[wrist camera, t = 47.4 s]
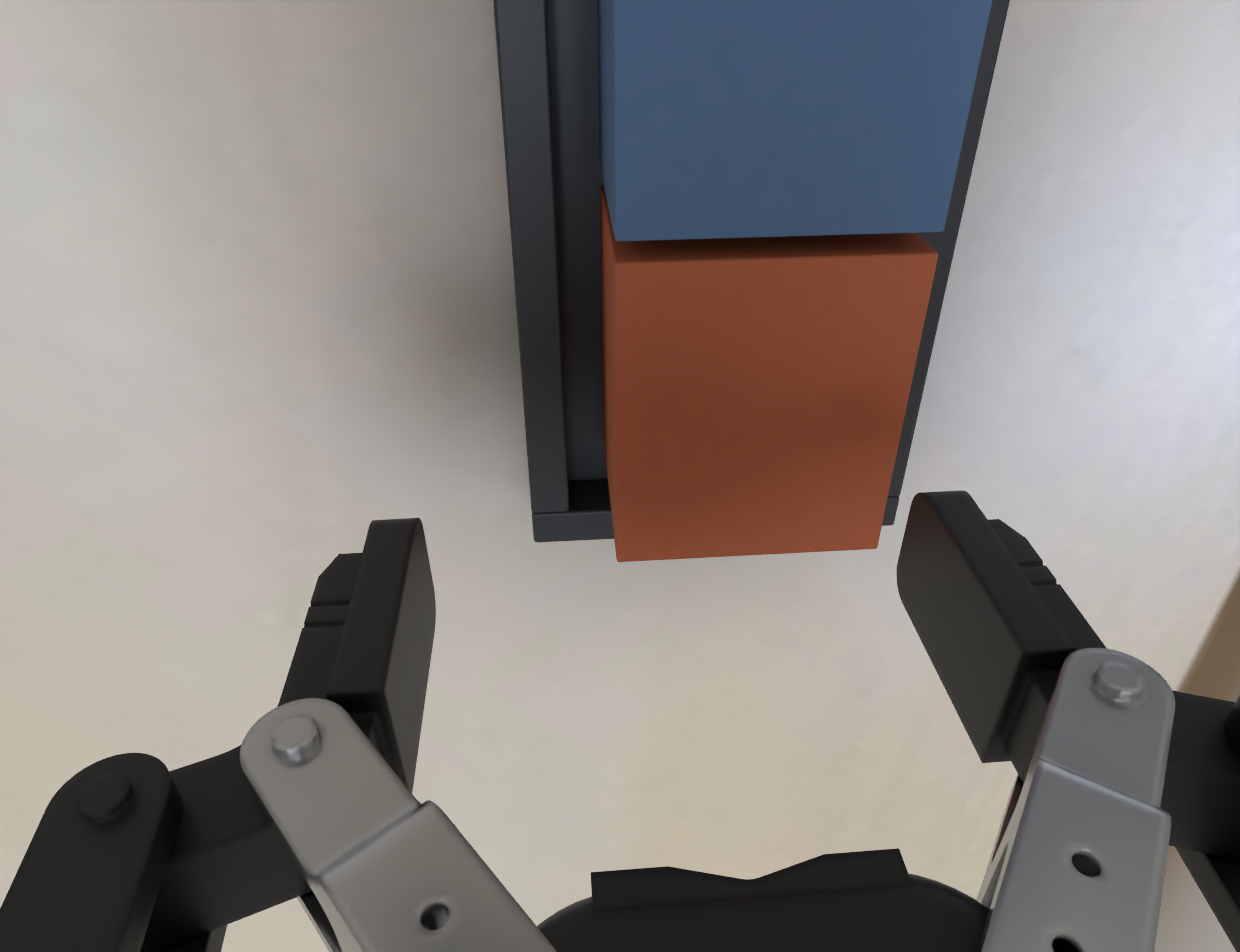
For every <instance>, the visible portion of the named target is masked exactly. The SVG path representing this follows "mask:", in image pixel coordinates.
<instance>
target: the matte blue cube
mask: <svg viewBox="0 0 1240 952" xmlns="http://www.w3.org/2000/svg"><path fill="white" fill-rule="evenodd" d="M991 5H992V0H597V35H598V95H599V155H600V169H601V174H602V179H603V184H604V189H605V193H606V198H607V203H608V208H609V213H610V218H611V222H612V227H613V232H614V237H615V240H616V241H648V240H682V239H716V238H751V237H785V236H820V235H854V234H889V233H923V232H942V231H944V228H945V224H946V219H947V214H948V209H949V205H950V200H951V195H952V190H953V186H954V181H955V176H956V171H957V167H958V162H959V157H960V152H961V148H962V143H963V138H964V133H965V129H966V124H967V119H968V114H969V110H970V105H971V100H972V95H973V91H974V86H975V81H976V76H977V72H978V67H979V62H980V57H981V53H982V48H983V43H984V38H985V34H986V29H987V24H988V19H989V15H990V10H991Z"/></svg>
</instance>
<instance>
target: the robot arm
mask: <svg viewBox="0 0 1240 952" xmlns="http://www.w3.org/2000/svg"><path fill="white" fill-rule="evenodd" d="M897 585H898V591H899V595H900V598H901V600H902V603H903V605H904V607H905V609H906V611H907V613H908V615H909V617H910V619H911V621H912V623H913V625H914V627H915V629H916V631H917V633H918V635H919V637H920V639H921V641H922V643H923V645H924V647H925V649H926V651H927V653H928V655H929V657H930V659H931V661H932V663H933V665H934V667H935V669H936V671H937V673H938V675H939V677H940V679H941V681H942V683H943V685H944V687H945V689H946V691H947V693H948V695H949V697H950V699H951V701H952V703H953V705H954V707H955V709H956V711H957V713H958V715H959V717H960V719H961V721H962V723H963V725H964V727H965V729H966V731H967V733H968V735H969V737H970V739H971V741H972V743H973V745H974V747H975V749H976V751H977V753H978V755H979V757H980V759H981V761H982V763H989V762H1003V761H1012V763H1013V765H1014V767H1015V769H1016V771H1017V773H1018V775H1017V777H1016V780H1015V782H1014V785H1013V787H1012V790H1011V793H1010V797H1009V800H1008V803H1007V806H1006V809H1005V813H1004V816H1003V819H1002V822H1001V825H1000V829H999V832H998V835H997V838H996V841H995V844H994V848H993V851H992V854H991V857H990V860H989V864H988V867H987V870H986V873H985V876H984V879H983V882H982V885H981V888H980V891H979V894H978V897H977V899H976V900H975V899H974V898H972V897H970V896H968V895H966V894H964V893H962V892H960V891H958V890H957V889H955V888H952V887H950V886H947V885H945V884H942V883H940V882H938V881H935V880H931V879H928V878H924V877H921V876H918V875H913V874H908V872H907V869H906V867H905V864H904V861H903V858H902V856H901V853H900V850H899V849H888V850H875V851H862V852H849V853H836V854H824V855H821V856H819V857H816V858H813V859H810V860H807V861H805V862H802V863H799V864H796V865H793V866H791V867H788V868H785V869H782V870H779V871H777V872H774V873H771V874H768V875H765V876H763V877H760V878H756V879H750V880H745V879H738V878H732V877H726V876H720V875H714V874H708V873H703V872H697V871H691V870H685V869H679V868H673V867H656V868H643V869H630V870H617V871H604V872H591V885H592V897H589V898H586V899H584V900H581V901H578V902H576V903H574V904H572V905H570V906H568V907H566V908H564V909H562V910H560V911H558V912H556V913H555V914H553V915H552V916H550V917H549V918H547V919H546V920H544V921H543V922H542V923H540V924H539V925H538V926H536V925H535V924H534V923H533V921H532V920H531V919H530V918H529V916H528V915H527V914H526V913H525V912H524V910H523V909H522V908H521V907H520V905H519V904H518V903H517V902H516V900H515V899H514V898H513V897H512V896H511V894H510V893H509V892H508V891H507V889H506V888H505V887H504V886H503V884H502V883H501V882H500V881H499V879H498V878H497V877H496V876H495V875H494V873H493V872H492V871H491V870H490V868H489V867H488V866H487V865H486V863H485V862H484V861H483V860H482V859H481V857H480V856H479V855H478V854H477V852H476V851H475V850H474V849H473V847H472V846H471V845H470V844H469V843H468V841H467V840H466V839H465V838H464V836H463V835H462V834H461V833H460V831H459V830H458V829H457V828H456V827H455V825H454V824H453V823H452V822H451V820H450V819H449V818H448V817H447V815H446V814H445V813H444V812H443V811H442V810H441V809H440V808H439V807H438V806H437V805H436V804H435V803H434V802H432V801H429V800H428V801H426V802H424V803H423V804H421V803H420V802H419V801H418V800H417V799H416V798H415V797H414V796H413V795H412V790H413V783H414V776H415V768H416V761H417V754H418V747H419V739H420V732H421V725H422V718H423V711H424V703H425V696H426V689H427V682H428V674H429V667H430V660H431V653H432V646H433V638H434V631H435V618H436V608H435V593H434V586H433V581H432V575H431V569H430V564H429V558H428V553H427V547H426V541H425V536H424V530H423V525H422V522H421V520H420V518H409V519H390V520H373V521H372V522H371V524H370V526H369V530H368V534H367V538H366V541H365V545H364V549H363V553H351V554H339V555H338V556H337V557H336V558H335V559H334V560H333V561H332V563H331V564H330V565H329V566H328V567H327V568H326V569H325V570H324V572H323V573H322V574H321V575H320V576H319V577H318V581H317V584H316V587H315V590H314V593H313V596H312V600H311V607H309V609H308V612H307V616H306V619H305V622H304V624H305V627H304V628H302V631H301V635H300V638H299V641H298V644H297V647H296V651H295V654H294V657H293V660H292V663H291V667H290V670H289V673H288V676H287V679H286V682H285V686H284V689H283V692H282V695H281V698H280V702H279V704H278V707H277V708H275V709H273V710H271V711H270V712H268V713H267V714H265V715H264V716H263V717H261V718H260V719H259V720H258V721H257V722H256V723H255V724H254V725H253V726H252V727H251V729H250V730H249V731H248V733H247V734H246V736H245V738H244V740H243V742H242V745H240V746H238V747H236V748H234V749H232V750H230V751H228V752H226V753H223V754H221V755H218V756H215V757H212V758H209V759H206V760H203V761H200V762H197V763H194V764H191V765H188V766H185V767H182V768H179V769H176V770H173V771H170V772H169V771H168V769H167V768H166V766H165V764H164V763H163V762H161V761H160V760H159V759H157V758H156V757H154V756H151V755H147V754H142V753H126V754H120V755H115V756H112V757H109V758H105V759H103V760H101V761H98V762H96V763H94V764H92V765H90V766H88V767H86V768H85V769H83V770H82V771H80V772H79V773H77V774H76V775H74V776H73V777H72V778H71V779H70V780H68V781H67V782H66V783H65V784H64V785H63V786H62V787H61V788H60V789H59V790H58V791H57V793H56V794H55V795H54V797H53V798H52V799H51V801H50V803H49V805H48V806H47V808H46V810H45V813H44V815H43V817H42V819H41V821H40V823H39V826H38V828H37V830H36V832H35V834H34V837H33V839H32V841H31V843H30V845H29V847H28V850H27V852H26V854H25V856H24V858H23V860H22V863H21V865H20V867H19V869H18V871H17V874H16V876H15V878H14V880H13V882H12V884H11V887H10V889H9V891H8V893H7V895H6V898H5V900H4V902H3V904H2V906H1V908H0V952H221V949H222V944H223V940H224V936H225V932H226V927H227V924H229V923H232V922H234V921H237V920H239V919H242V918H245V917H247V916H250V915H252V914H255V913H257V912H260V911H262V910H265V909H268V908H270V907H273V906H275V905H278V904H280V903H283V902H285V901H288V900H290V899H293V898H296V897H297V899H298V900H299V902H300V904H301V905H302V907H303V909H304V910H305V912H306V914H307V915H308V917H309V919H310V920H311V922H312V924H313V925H314V927H315V929H316V930H317V932H318V934H319V935H320V937H321V939H322V940H323V942H324V944H325V945H326V947H327V949H328V950H329V952H1154V949H1155V942H1156V935H1157V927H1158V919H1159V913H1160V905H1161V897H1162V890H1163V882H1164V876H1165V868H1166V861H1167V853H1168V846H1169V845H1170V846H1175V848H1176V849H1177V851H1178V852H1179V854H1180V856H1181V858H1182V860H1183V861H1184V863H1185V865H1186V866H1187V868H1188V869H1189V871H1190V873H1191V875H1192V876H1193V878H1194V880H1195V882H1196V883H1197V885H1198V886H1199V888H1200V890H1201V891H1202V893H1203V895H1204V897H1205V898H1206V900H1207V902H1208V904H1209V905H1210V907H1211V909H1212V910H1213V912H1214V914H1215V916H1216V917H1217V919H1218V921H1219V922H1220V924H1221V926H1222V927H1223V929H1224V931H1225V933H1226V934H1227V936H1228V938H1229V940H1230V941H1231V943H1232V945H1233V946H1234V948H1235V950H1236V951H1237V952H1240V696H1239V697H1238V699H1237V701H1236V702H1230V701H1225V700H1219V699H1214V698H1208V697H1203V696H1197V695H1192V694H1187V693H1181V692H1177V691H1173V690H1171V688H1170V686H1169V685H1168V683H1167V682H1166V681H1165V679H1164V678H1163V677H1162V676H1161V675H1160V674H1159V673H1158V672H1156V671H1155V670H1154V669H1153V668H1151V667H1150V666H1148V665H1147V664H1145V663H1144V662H1142V661H1140V660H1139V659H1137V658H1135V657H1133V656H1130V655H1128V654H1125V653H1122V652H1119V651H1116V650H1111V649H1107V648H1106V647H1105V645H1104V644H1103V643H1102V641H1101V640H1100V639H1099V637H1098V636H1097V635H1096V633H1095V632H1094V630H1093V629H1092V628H1091V626H1090V625H1089V624H1088V622H1087V621H1086V620H1085V618H1084V617H1083V615H1082V614H1081V613H1080V611H1079V610H1078V609H1077V607H1076V606H1075V605H1074V603H1073V602H1072V600H1071V599H1070V598H1069V596H1068V595H1067V594H1066V592H1065V591H1064V590H1063V588H1062V587H1061V585H1060V584H1059V585H1057V584H1056V579H1055V577H1054V576H1053V575H1052V573H1051V572H1050V570H1049V569H1048V568H1047V566H1043V561H1042V560H1041V558H1040V557H1039V555H1038V554H1037V553H1036V551H1035V550H1034V549H1033V547H1032V546H1031V545H1030V543H1029V542H1028V540H1027V539H1026V538H1025V537H1023V536H1022V535H1020V534H1019V533H1018V532H1016V531H1015V530H1013V529H1012V528H1011V527H1009V526H1008V525H1006V524H1005V523H1004V522H1002V521H1001V520H999V519H995V520H987V519H986V517H985V516H984V514H983V513H982V511H981V510H980V509H979V507H978V506H977V504H976V503H975V501H974V500H973V498H972V497H971V496H970V495H969V493H967V492H966V491H945V492H926V493H918V494H916V495H915V497H914V498H913V501H912V504H911V508H910V512H909V516H908V521H907V525H906V529H905V534H904V538H903V542H902V547H901V551H900V555H899V560H898V564H897Z"/></svg>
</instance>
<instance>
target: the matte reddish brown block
mask: <svg viewBox="0 0 1240 952" xmlns="http://www.w3.org/2000/svg"><path fill="white" fill-rule="evenodd" d="M600 238H601V296H602V354H603V413H604V448H605V458H606V467H607V476H608V485H609V494H610V503H611V512H612V521H613V530H614V539H615V548H616V557H617V561H618V562H626V561H645V560H665V559H684V558H704V557H723V556H743V555H762V554H782V553H801V552H821V551H840V550H860V549H876V548H877V545H878V541H879V536H880V531H881V526H882V522H883V517H884V512H885V507H886V503H887V498H888V493H889V488H890V484H891V479H892V474H893V469H894V465H895V460H896V455H897V450H898V446H899V441H900V436H901V431H902V426H903V422H904V417H905V412H906V407H907V403H908V398H909V393H910V388H911V384H912V379H913V374H914V369H915V365H916V360H917V355H918V350H919V346H920V341H921V336H922V331H923V327H924V322H925V317H926V312H927V307H928V303H929V298H930V293H931V288H932V284H933V279H934V274H935V269H936V265H937V260H938V253H937V252H936V251H935V250H934V249H933V248H932V247H931V246H930V245H928V244H927V243H926V242H925V241H924V240H923V239H922V238H921V237H920V236H919V235H918V234H917V233H889V234H854V235H820V236H785V237H751V238H716V239H682V240H648V241H616V240H615V237H614V232H613V227H612V222H611V218H610V213H609V208H608V203H607V198H606V193H605V189H604V185H602V186H600Z"/></svg>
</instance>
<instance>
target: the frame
mask: <svg viewBox="0 0 1240 952" xmlns="http://www.w3.org/2000/svg"><path fill="white" fill-rule="evenodd" d="M1009 1H1010V0H992V5H991V10H990V15H989V19H988V24H987V29H986V34H985V38H984V43H983V48H982V53H981V57H980V62H979V67H978V72H977V76H976V81H975V86H974V91H973V95H972V100H971V105H970V110H969V114H968V119H967V124H966V129H965V133H964V138H963V143H962V148H961V152H960V157H959V162H958V167H957V171H956V176H955V181H954V186H953V190H952V195H951V200H950V205H949V209H948V214H947V219H946V224H945V228H944V231H942V232H923V233H917V234H918V235H919V236H920V237H921V238H922V239H923V240H924V241H925V242H926V243H927V244H928V245H930V246H931V247H932V248H933V249H934V250H935V251H936V252H937V253H938V260H937V265H936V269H935V274H934V279H933V284H932V288H931V293H930V298H929V303H928V307H927V312H926V317H925V322H924V327H923V331H922V336H921V341H920V346H919V350H918V355H917V360H916V365H915V369H914V374H913V379H912V384H911V388H910V393H909V398H908V403H907V407H906V412H905V417H904V422H903V426H902V431H901V436H900V441H899V446H898V450H897V455H896V460H895V465H894V469H893V474H892V479H891V484H890V488H889V493H888V498H887V503H886V507H885V512H884V517H883V522H882V526H885V525H893V524H894V520H895V515H896V511H897V506H898V501H899V495H900V493H901V488H902V484H903V479H904V475H905V470H906V466H907V461H908V457H909V452H910V448H911V443H912V438H913V434H914V429H915V425H916V420H917V416H918V411H919V407H920V402H921V398H922V393H923V389H924V384H925V380H926V375H927V371H928V366H929V362H930V357H931V353H932V348H933V344H934V339H935V335H936V330H937V326H938V321H939V317H940V312H941V308H942V303H943V299H944V294H945V290H946V285H947V281H948V276H949V272H950V267H951V263H952V258H953V254H954V249H955V245H956V240H957V236H958V231H959V226H960V222H961V217H962V213H963V208H964V204H965V199H966V195H967V190H968V186H969V181H970V177H971V172H972V168H973V163H974V159H975V154H976V150H977V145H978V141H979V136H980V132H981V127H982V123H983V118H984V114H985V109H986V105H987V100H988V96H989V91H990V87H991V82H992V78H993V73H994V69H995V64H996V60H997V55H998V51H999V46H1000V42H1001V37H1002V33H1003V28H1004V24H1005V19H1006V14H1007V10H1008V5H1009ZM494 14H495V27H496V40H497V54H498V67H499V80H500V94H501V107H502V121H503V134H504V147H505V161H506V174H507V187H508V201H509V214H510V228H511V241H512V254H513V268H514V281H515V294H516V308H517V321H518V335H519V348H520V361H521V375H522V388H523V402H524V415H525V428H526V442H527V455H528V468H529V482H530V495H531V509H532V522H533V535H534V540H535V542H553V541H574V540H594V539H614V530H613V521H612V512H611V503H610V494H609V485H608V476H607V467H606V458H605V448H604V413H603V354H602V296H601V238H600V186H602V185H604V184H603V179H602V174H601V169H600V155H599V95H598V35H597V0H494Z"/></svg>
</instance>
